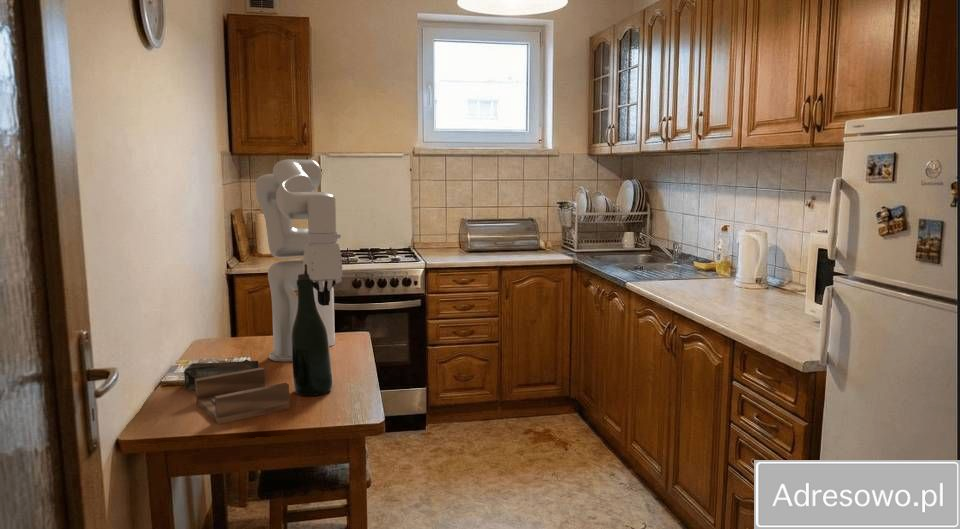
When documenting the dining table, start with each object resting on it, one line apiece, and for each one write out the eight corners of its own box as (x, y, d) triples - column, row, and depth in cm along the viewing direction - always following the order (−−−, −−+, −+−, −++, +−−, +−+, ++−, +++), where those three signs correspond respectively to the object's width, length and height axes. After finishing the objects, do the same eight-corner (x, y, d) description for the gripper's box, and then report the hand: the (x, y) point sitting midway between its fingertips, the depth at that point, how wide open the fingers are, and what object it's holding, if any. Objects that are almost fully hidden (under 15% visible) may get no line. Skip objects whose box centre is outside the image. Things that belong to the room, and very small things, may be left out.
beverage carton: (192, 382, 199) (191, 360, 198) (260, 380, 202) (259, 358, 201) (184, 391, 191) (183, 368, 191) (255, 388, 194) (254, 366, 193)
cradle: (195, 402, 181) (194, 379, 181) (262, 389, 192) (261, 367, 191) (218, 424, 167) (217, 398, 166) (289, 408, 178) (288, 384, 177)
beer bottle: (309, 381, 198) (299, 269, 192) (340, 385, 194) (331, 271, 189) (286, 394, 189) (275, 277, 183) (318, 398, 185) (308, 278, 179)
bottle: (329, 348, 237) (327, 261, 232) (308, 346, 238) (305, 261, 234) (338, 342, 244) (336, 258, 240) (318, 340, 246) (315, 258, 242)
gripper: (340, 236, 195) (342, 299, 198) (290, 239, 186) (292, 305, 189) (353, 238, 189) (354, 303, 192) (302, 241, 180) (304, 310, 183)
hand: (324, 304), depth 190 cm, fingers closed
